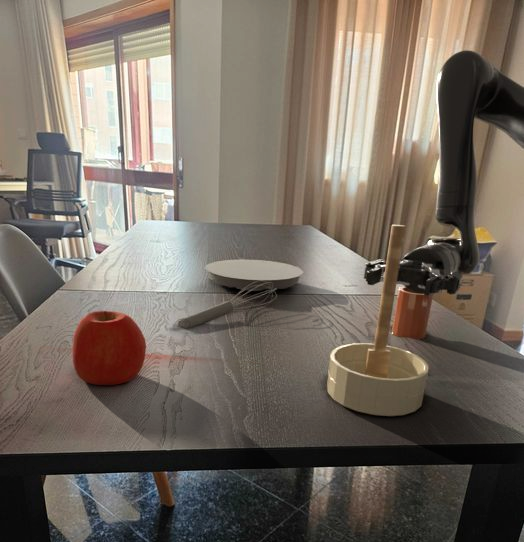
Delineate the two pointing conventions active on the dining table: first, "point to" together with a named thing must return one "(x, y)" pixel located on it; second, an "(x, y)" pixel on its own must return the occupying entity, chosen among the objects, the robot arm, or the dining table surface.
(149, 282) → the dining table surface
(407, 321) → the crock
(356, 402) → the mixing bowl
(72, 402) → the dining table surface
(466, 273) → the robot arm
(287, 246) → the dining table surface
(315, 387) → the dining table surface
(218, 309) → the kitchen whisk
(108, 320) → the apple
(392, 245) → the wooden stick
